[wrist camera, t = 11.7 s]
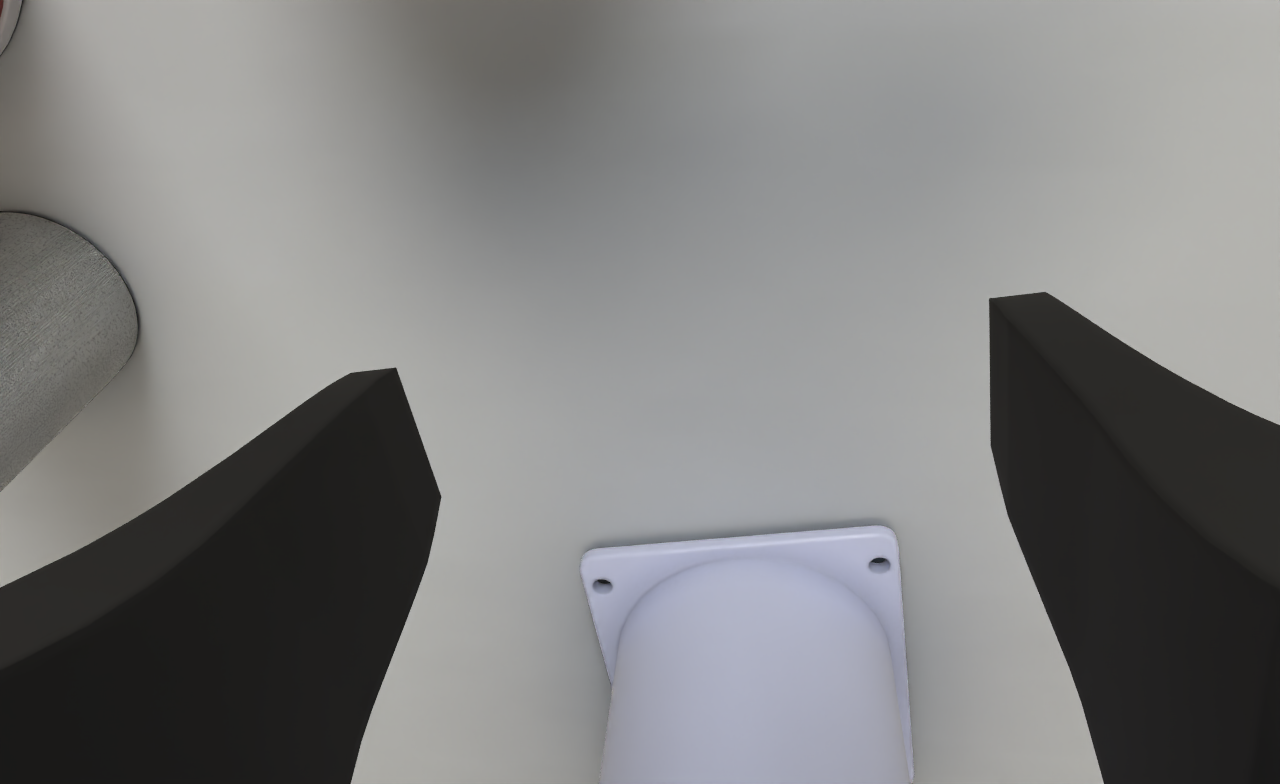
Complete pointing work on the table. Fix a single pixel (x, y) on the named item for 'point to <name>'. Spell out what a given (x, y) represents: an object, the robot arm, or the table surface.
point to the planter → (54, 333)
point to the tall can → (8, 20)
